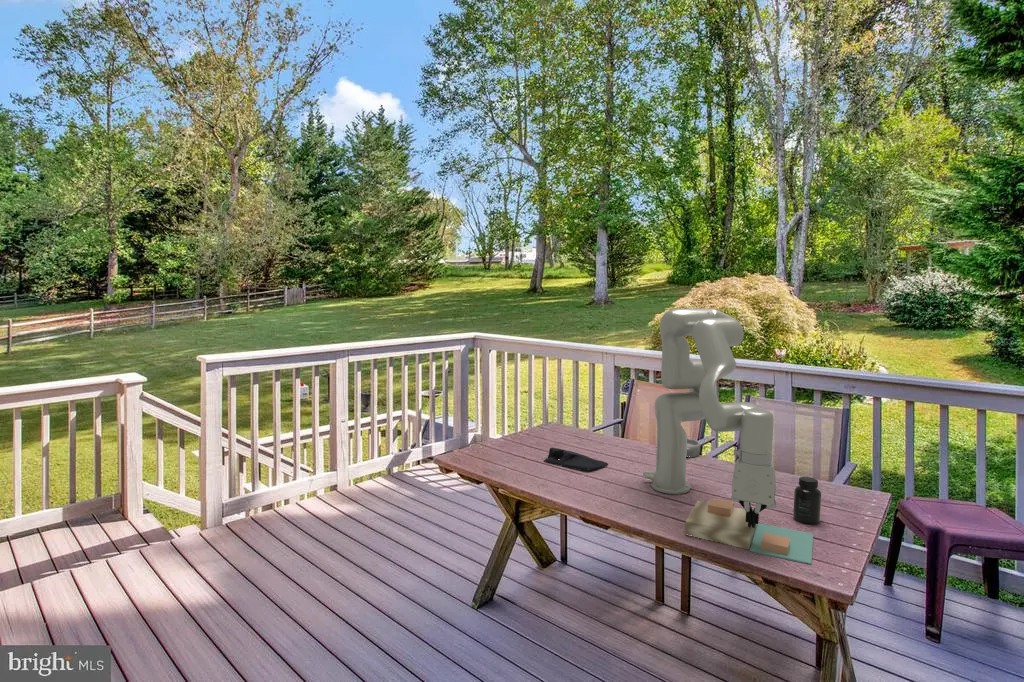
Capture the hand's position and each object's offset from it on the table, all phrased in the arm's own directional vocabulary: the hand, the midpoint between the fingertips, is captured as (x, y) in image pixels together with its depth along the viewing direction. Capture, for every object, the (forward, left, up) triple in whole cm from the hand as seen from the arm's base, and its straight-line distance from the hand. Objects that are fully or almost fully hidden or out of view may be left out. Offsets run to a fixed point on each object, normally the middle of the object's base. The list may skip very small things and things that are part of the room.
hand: (751, 525), depth 146 cm
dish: (-33, +69, -5) cm, 77 cm away
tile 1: (-9, +8, 0) cm, 12 cm away
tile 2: (+6, 0, -3) cm, 7 cm away
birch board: (-8, +4, -5) cm, 10 cm away
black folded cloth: (-65, +37, -6) cm, 75 cm away
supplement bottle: (+12, +23, -5) cm, 26 cm away
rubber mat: (+7, +4, -5) cm, 9 cm away
